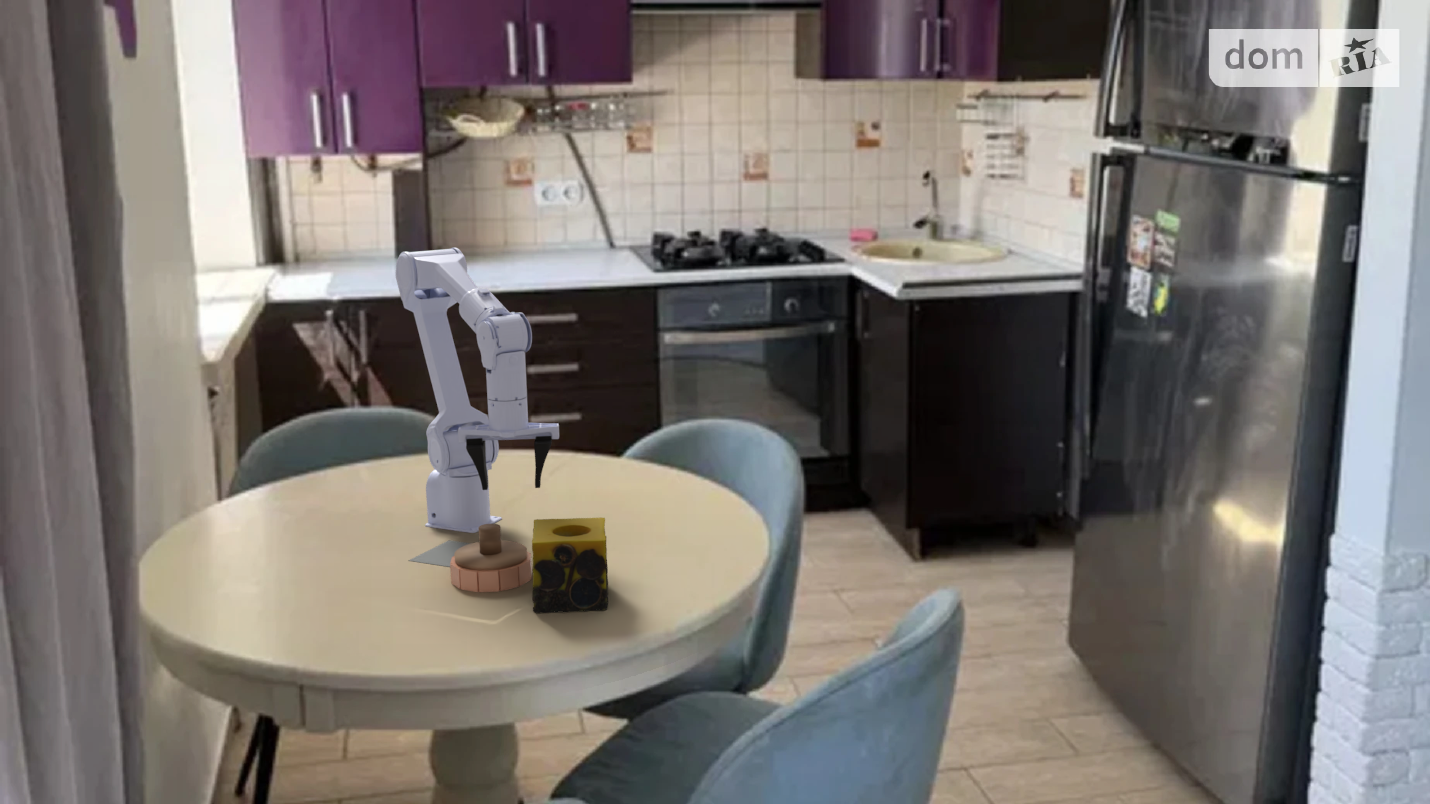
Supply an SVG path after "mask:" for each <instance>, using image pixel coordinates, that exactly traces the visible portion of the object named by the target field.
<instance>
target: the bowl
mask: <svg viewBox="0 0 1430 804" xmlns="http://www.w3.org/2000/svg"><path fill="white" fill-rule="evenodd" d="M449 568H450V583H451V584H452V586H455V587H456V588H458V589H459V590H463V591H468V592H475V593H489V592H490V593H492V592H493V593H494V592H503V591H508V590H511V589H515V588H520V587H521V586H523V585H526V583H528V582H530V581H531V580H532V577H533V571H532V569H533V563H532V553H531V552H530V551H528V550H527V559H526V560H525V561H524V562H522V563H521V564H518V565H516V566H513V567H509V568H505V569H499V570H487V571H481V570H470V569H465V568H462V567H460V566H458V565H457V564H456V563H455V556H453V557H452V559H451V562H450V567H449Z"/></svg>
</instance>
